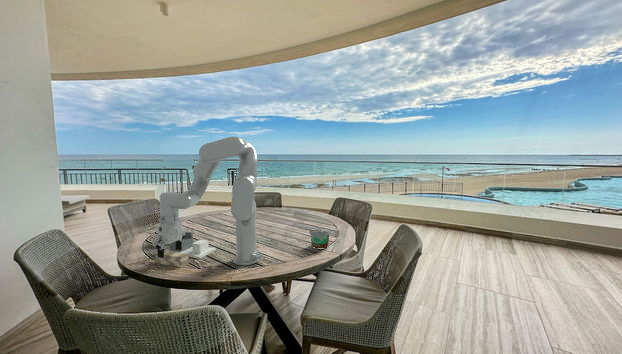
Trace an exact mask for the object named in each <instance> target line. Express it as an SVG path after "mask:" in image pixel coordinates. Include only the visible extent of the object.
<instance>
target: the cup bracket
mask: <svg viewBox="0 0 622 354" xmlns="http://www.w3.org/2000/svg"><path fill="white" fill-rule="evenodd" d="M185 232H186V233H185V235H184V239H183V242H182V250H176V242H177V241H176V242H173V243H171V244H168V245H169V246H168V247H169V248H167V249H165V250H166V251H172V252H178V253H184V254H188V258H192V259H197V260H198V259H199V260H201V259H202V258H204V257H206V256H208V255H209V254H211V253H213V252H215V251H217V248H216V247H211V246H209V240H208V239H207V240H205V239H200V240H197V241H195V242H194V238H193V237H194V235H193V232H191V231H185Z"/></svg>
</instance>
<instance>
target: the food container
mask: <svg viewBox="0 0 622 354" xmlns="http://www.w3.org/2000/svg"><path fill="white" fill-rule="evenodd" d="M308 233H309V235H310V240H311V241H310V242H311V247H312V246H313V247H315V248H326V247H327V246H328V247H329V241H330V235H331V231H330V229H329V230H327V231H326V230H321V229H319V230H315V229H314V230H312V229H311V228H310V229H309V232H308ZM326 249H327V248H326Z"/></svg>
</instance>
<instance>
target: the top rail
mask: <svg viewBox="0 0 622 354" xmlns="http://www.w3.org/2000/svg"><path fill="white" fill-rule="evenodd" d="M166 250H167V249H164V258H159V257H158V254H157V252H155V253H154V254H155V255H154V257H155V263H156V264H161V265H166V266H171V267H176V268H177V267H178V268H183V267H185V266H187V265H189V257H188V254H184V253H178V252H172V251H166Z"/></svg>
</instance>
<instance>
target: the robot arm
mask: <svg viewBox="0 0 622 354" xmlns="http://www.w3.org/2000/svg"><path fill="white" fill-rule="evenodd" d="M198 156H199V160H198V161H197V162H196V164H195V166H194V167H193V169H192V174H193V180H192V182H191V185H190V186H189V187H188V189H187V191H184V192H181V193H178V192H175V191H166V192H162V193H161V194H160V195H159V218H158V222H159V223H158V227H157V237H156V238H155V239H154V240H152V242H151V244H152V247H153V248H155V250H157V252H156V253H157V254H158V257H159V258H164V250H165V249H164V247H165V246H167V245H169V244H171V243H173V242H176V241H177V242H176V250H182V242H183V239H184V235H185V233H186V232H187V231H185V230H183V226H182V222H181V219H180V218H179V216H180V215H179V214H180V213H179V211H180V210H187V209H190V208H191V207H194V206H195V205H197V204H198V203H199V202H200V200H201V199H202V198H203V196H204V195H205V192H206V190H207V189H208V186H209V184H210V182H211V179H212V176H213V175H214V173H215V171H216V170H217V168H218V167H219V165H220V164H221V162H222V160H225V159H229V158H232V157H237V156H238V157H239V158H238V159H239V164H238V174H237V178H236V179H235V180H234V182H233V184H232V186H231V187H232V189H231V201H230V202H231V203H230V204H231V205H230V213H231V216H232V217H233V218H234V219H235V253H236V254H235V255H236V256H235V255H234V257H233V259H232V261H233V263H234V265H237V266H250V265H253V264H255V263H258V262H259V261H263V259H264V255H263V253H259V250H258V249H257V204H256V203H257V202H256V201H255V200H254V197H255V191H256V189H257V183H258V181H257V177H258V154H257V150H256V149H255V147H254V146H253V145H252V144H251V143H250V142H248V141H247V140H246V139H244V138H242V137H238V136H229V137H225V138H222V139H217V140H214V141H211V142H206V143H205V144H203V145H201V146H200V148H199V151H198Z"/></svg>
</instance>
